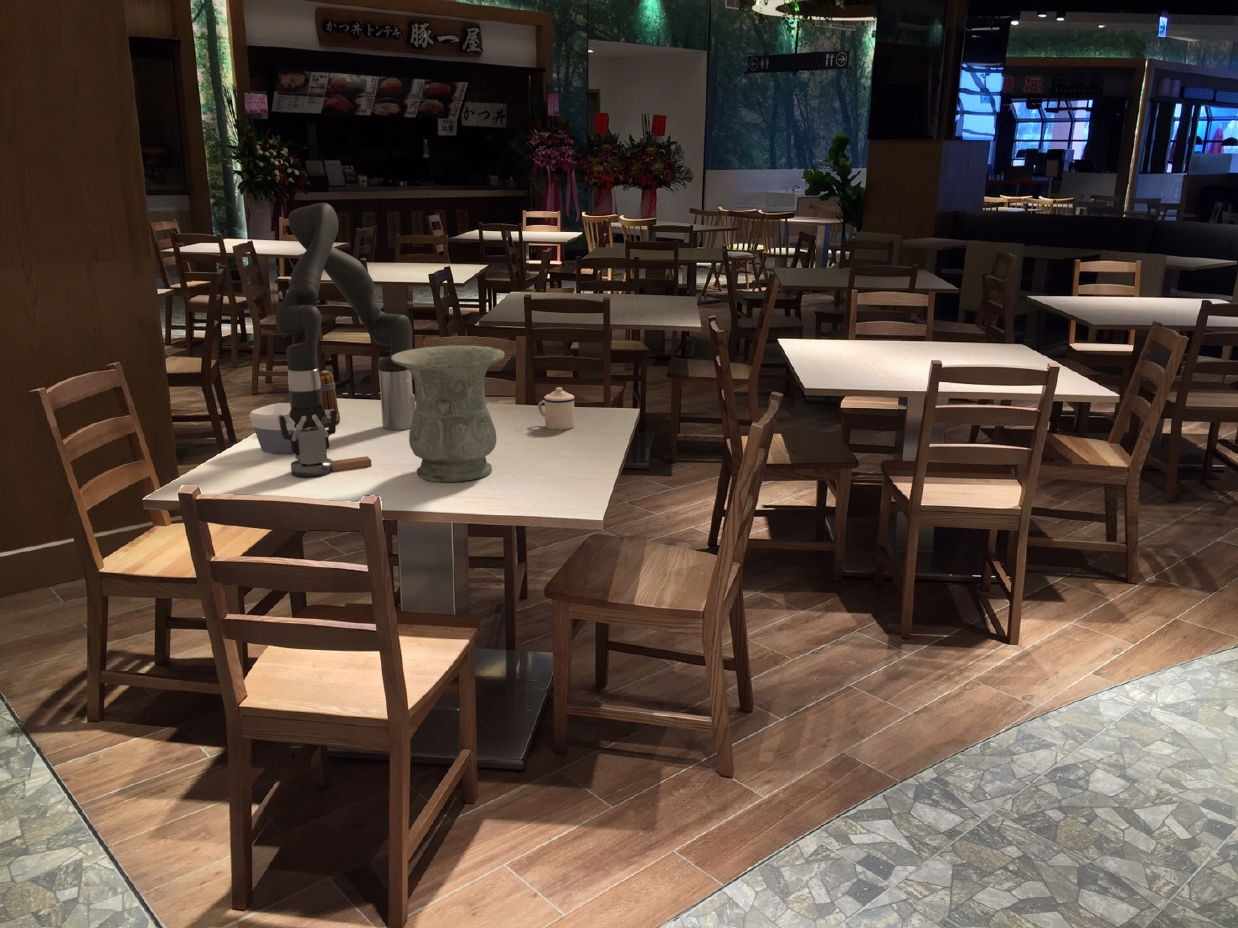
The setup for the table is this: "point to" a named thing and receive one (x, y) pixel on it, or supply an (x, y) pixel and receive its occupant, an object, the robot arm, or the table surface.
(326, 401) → the mug
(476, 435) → the vessel
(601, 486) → the table surface
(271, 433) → the bowl
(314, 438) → the grey rectangular block
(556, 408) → the teacup with lid
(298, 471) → the dark handled piece
